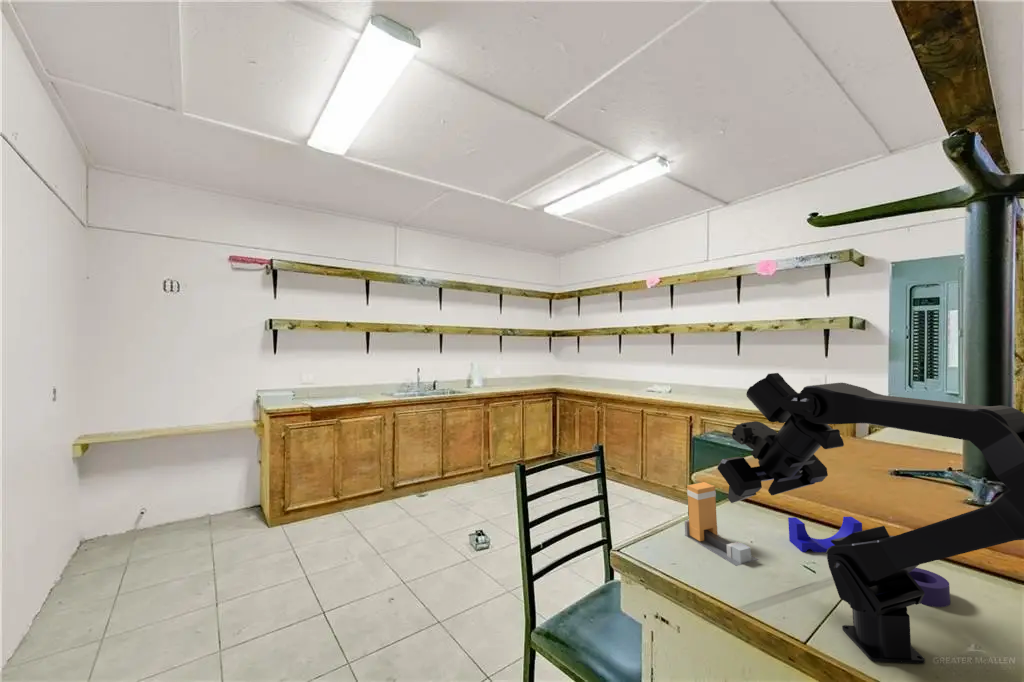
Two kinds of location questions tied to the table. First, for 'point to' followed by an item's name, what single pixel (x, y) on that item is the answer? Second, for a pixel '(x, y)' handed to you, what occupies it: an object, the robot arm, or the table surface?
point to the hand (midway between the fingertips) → (750, 496)
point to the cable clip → (805, 542)
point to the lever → (932, 587)
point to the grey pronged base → (724, 547)
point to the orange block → (701, 509)
